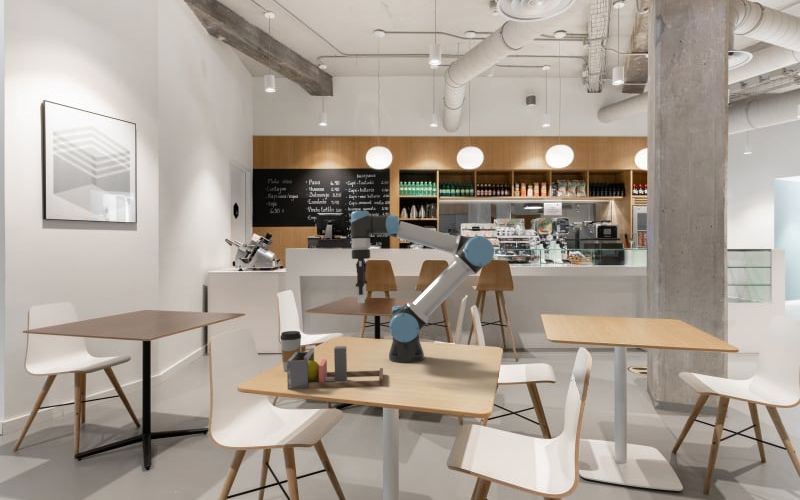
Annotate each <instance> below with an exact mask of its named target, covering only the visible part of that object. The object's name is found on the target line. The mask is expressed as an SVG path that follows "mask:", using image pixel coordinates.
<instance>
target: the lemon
mask: <svg viewBox="0 0 800 500" xmlns="http://www.w3.org/2000/svg"><path fill="white" fill-rule="evenodd" d="M317 380H319V364H318V362H316V361H315V360H314V361H311V360H308V383H313V382H316V381H317Z"/></svg>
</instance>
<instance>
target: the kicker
mask: <svg viewBox="0 0 800 500" xmlns="http://www.w3.org/2000/svg"><path fill="white" fill-rule="evenodd" d="M333 348H334V349H333V353H334V355H333V357H334V372H335V377H327V372H328V362H327V361H328V359H327V358H326V359H325V358H322V359H321V361H320V362H319V364H318V365H319V378H318V382H344V381H348V376H347V371H348V364H347V362H348V361H347V345H340V346H339V345H337V346H334V347H333Z"/></svg>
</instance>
